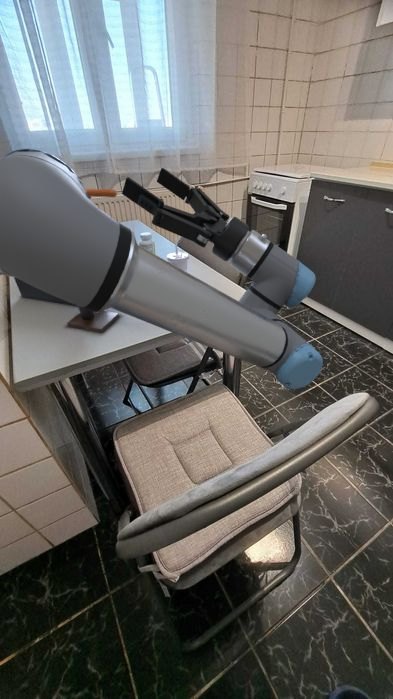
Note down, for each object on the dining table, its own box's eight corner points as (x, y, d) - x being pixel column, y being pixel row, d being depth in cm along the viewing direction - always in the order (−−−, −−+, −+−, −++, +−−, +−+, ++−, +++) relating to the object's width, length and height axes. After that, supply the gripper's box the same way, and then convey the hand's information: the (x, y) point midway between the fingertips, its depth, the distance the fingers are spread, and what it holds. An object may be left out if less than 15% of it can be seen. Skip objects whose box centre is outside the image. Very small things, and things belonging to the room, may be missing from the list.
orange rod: (28, 194, 59) (26, 187, 58) (33, 193, 60) (31, 186, 59) (115, 197, 53) (113, 190, 53) (118, 196, 54) (117, 189, 54)
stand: (67, 326, 73) (22, 193, 55) (87, 311, 79) (51, 186, 61) (102, 332, 71) (65, 194, 53) (119, 316, 77) (92, 187, 59)
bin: (21, 296, 87) (11, 272, 83) (57, 276, 99) (50, 254, 94) (88, 307, 81) (81, 282, 76) (118, 284, 92) (113, 261, 88)
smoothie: (184, 280, 94) (182, 235, 85) (193, 288, 89) (192, 241, 81) (166, 284, 91) (161, 238, 83) (174, 292, 87) (170, 244, 78)
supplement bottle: (150, 264, 106) (147, 236, 100) (138, 261, 108) (134, 234, 102) (159, 259, 109) (156, 232, 104) (147, 257, 112) (144, 230, 106)
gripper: (261, 212, 62) (177, 153, 61) (234, 251, 43) (112, 166, 42) (242, 242, 67) (164, 188, 66) (210, 288, 48) (100, 214, 47)
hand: (143, 179), depth 54 cm, fingers open, 13 cm apart
